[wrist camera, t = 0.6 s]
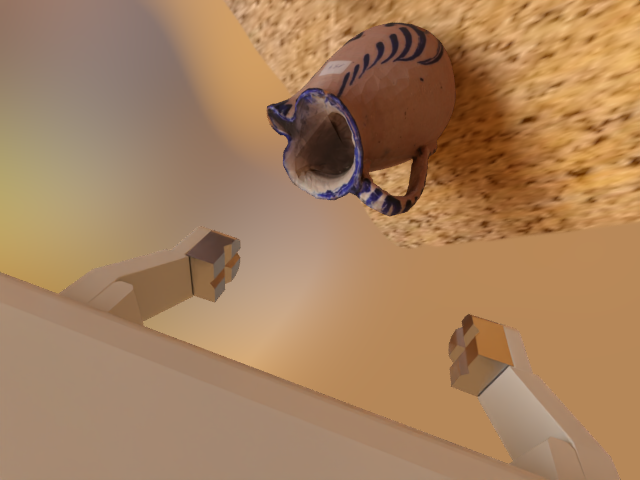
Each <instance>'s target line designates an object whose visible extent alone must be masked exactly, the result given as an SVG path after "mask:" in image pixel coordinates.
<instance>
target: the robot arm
mask: <svg viewBox="0 0 640 480" xmlns="http://www.w3.org/2000/svg"><path fill="white" fill-rule="evenodd" d="M239 249H240V240H239V239H237V238H235V237H232V236H229V235H226V234H223V233H220V232H217V231H215V230H211V229H208V228H205V227H202V226H200V227H197V228H196V229H195V230H194V231H192V232H191V233H190V234H189V235H188V236H187V237H186V238H184V239H183V240H182V241H181V242H180V243H179V244H177V245H176V246H175V247H174V248H173V249H172V250H168V249H166V250H162V251H158V252H154V253H151V254H147V255H143V256H139V257H136V258H133V259H129V260H125V261H121V262H118V263H114V264H110V265H107V266H103V267H99V268H95V269H92V270H91V271H90V272H88V273H87V274H85V275H84V276H83V277H81V278H80V279H78V280H77V281H75V282H74V283H73V284H71V285H70V286H69V287H67V288H66V289H64V290H63V291H62V292H60V293H59V294H57V293H54V292H52V291H49V290H46V289H44V288H41V287H39V286H36V285H33V284H31V283H28V282H25V281H23V280H20V279H17V278H15V277H12V276H9V275H7V274H4V273H1V272H0V480H621V479H620V477H619V475H618V472H617V470H616V468H615V465H614V463H613V461H612V458H611V457H610V455H609V454H608V453H607V452H606V451H605V450H604V449H603V448H602V447H601V445H600V444H599V443H598V442H597V441H596V440H595V439H594V438H593V436H592V435H591V434H590V433H589V432H588V431H587V430H586V429H585V428H584V426H583V425H582V424H581V423H580V422H579V421H578V420H577V418H576V417H575V416H574V415H573V414H572V413H571V412H570V411H569V410H568V408H567V407H566V406H565V405H564V404H563V403H562V402H561V401H560V399H559V398H558V397H557V396H556V395H555V394H554V393H553V392H552V391H551V389H550V388H549V387H548V386H547V385H546V384H545V383H544V382H543V380H542V379H541V378H540V377H539V376H538V375H535V374H533V372H532V369H531V366H530V363H529V360H528V357H527V354H526V350H525V347H524V344H523V341H522V338H521V335H520V332H519V331H518V330H517V329H516V328H512V327H509V326H506V325H502V324H498V323H495V322H492V321H489V320H486V319H483V318H480V317H477V316H473V315H470V314H468V315H467V316H465V317H464V319H463V320H462V328H459V329H456V330H455V332H454V333H453V335H452V336H451V339H450V342H449V357H450V359H451V360H452V362H453V365H452V366H451V367H450V377H451V387H454V388H456V389H459V390H462V391H464V392H467V393H469V394H472V395H475V396H477V397H478V400H479V401H480V403H481V405H482V407H483V409H484V411H485V412H486V414H487V416H488V418H489V419H490V421H491V423H492V425H493V426H494V428H495V430H496V432H497V433H498V435H499V437H500V439H501V440H502V442H503V444H504V446H505V448H506V449H507V451H508V453H509V455H510V456H511V458H512V460H513V462H511V463H510V464H508V463H505V462H502V461H500V460H497V459H494V458H492V457H489V456H486V455H484V454H481V453H478V452H476V451H473V450H470V449H468V448H465V447H462V446H459V445H457V444H454V443H452V442H449V441H447V440H444V439H441V438H439V437H436V436H433V435H431V434H428V433H425V432H422V431H420V430H417V429H415V428H412V427H409V426H407V425H404V424H401V423H399V422H396V421H393V420H391V419H388V418H386V417H383V416H380V415H377V414H375V413H372V412H370V411H367V410H364V409H362V408H359V407H356V406H353V405H351V404H348V403H346V402H343V401H340V400H338V399H335V398H332V397H330V396H327V395H324V394H322V393H319V392H316V391H314V390H311V389H308V388H306V387H303V386H301V385H298V384H295V383H293V382H290V381H287V380H285V379H282V378H279V377H277V376H274V375H272V374H269V373H266V372H264V371H261V370H258V369H256V368H253V367H250V366H248V365H245V364H242V363H240V362H237V361H235V360H232V359H229V358H227V357H224V356H221V355H219V354H216V353H213V352H211V351H208V350H205V349H203V348H200V347H197V346H195V345H192V344H190V343H187V342H184V341H182V340H179V339H176V338H174V337H171V336H168V335H165V334H163V333H160V332H158V331H155V330H152V329H150V328H147V327H145V326H143V321H145V320H147V319H149V318H151V317H153V316H155V315H157V314H159V313H161V312H163V311H165V310H167V309H169V308H171V307H173V306H175V305H177V304H179V303H181V302H183V301H185V300H187V299H189V298H191V297H193V295H194V296H197V297H200V298H203V299H206V300H209V301H212V302H216V301H217V299H218V298H219V297H220V295H221V294H222V293H223V292H224V290H225V284H226V283H228V282H231V281H232V280H233V278H234V277H235V276H236V273H237V271H238V269H239V265H240V257H239V255H238V253H237V252H238V250H239Z"/></svg>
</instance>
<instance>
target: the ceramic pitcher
mask: <svg viewBox="0 0 640 480" xmlns="http://www.w3.org/2000/svg"><path fill="white" fill-rule="evenodd" d="M455 97H456V93H455V80H454V74H453V69H452V65H451V61H450V59H449V56H448V54H447V52H446V50H445V48H444V47H443V45H442V43H441V42H440V41H439V40H438V39H437V38H436V37H435V36H434V35H433V34H431V33H430V32H429V31H427V30H425V29H423V28H421V27H418V26H415V25H412V24H405V23H388V24H383V25H379V26H375V27H372V28H370V29H367V30H365V31H363V32H361V33H360V34H358V35H356V36H355V37H353V38H352V39H351V40H349V41H348V42H347V43H346V44H345V45H344V46H343V47H342V48H340V49H339V50H338V51H337V52H336V53H335V54H334V55H333V56H332V57H331V58H330V59H329V60H328V61H327V62H326V63H325V64H324V65H323V66H322V68H321V69H320V70H319V71H318V72H317V73H316V74H315V75H314V76H313V77H312V78H311V79H310V81H309V82H308V83H307V84H306V85H305V86H304V87H303V88H302V89H301V90H300V91H299V92H297V93H296V94H295V95H294V96H292V97H291V98H290V99H288V100H285V101H282V102H280V103H277V104H271V105H269V106H267V117H268V119H269V123H270V125H271V127H273V129H274V130H275V131H276V132H277V133H278V134H280V135H284V136H286V138H287V139H288V145H287V147H286V148H285V150H284V154H283V166H284V168H285V170H286V172H287V174H288V176H289V178H290V179H291V181H292V182H293V183H294V184H295V185H296V186H298V187H299V188H300V189H302V190H305V191H306V192H307V193H309V194H311V195H312V196H314V197H315V198H317V199H327V200H336V199H338V198H341V197H343V196H345V195H347V194H348V193H349V192H350V193H352V194H354V195H356V196H357V197H358V198H359V199H360V200H361V201H362V202H363V203H364V204H366V205H367V206H369V207H370V208H372V209H374V210H376V211H378V212H380V213H382V214H384V215H387V216H393V215H397V214H401V213H405V212H408V210H409V209H410V208H411V207H412V206H413V205H414V204H415V203H416V202H417V200H418V199H419V198H420V196H421V194H422V192H423V189H424V187H425V182H426V176H427V167H428V159H429V156H431V155H432V154H433V153H435V151H436V149H437V139H438V138H439V137H440V135H441V134H442V132H443V131H444V129H445V127H446V126H447V124H448V122H449V120H450V118H451V115H452V112H453V109H454V104H455ZM410 159H413V163H412V166H411V174H410V180H409V186H408V190H407V193H406V195H405V196H392V195H390V194H389V193H388V192H387V191H384V190H382V189H381V188H380V187H379V186H377V185H376V184H374V183H373V179H372V178H371V177H370V175H369V172H372V171H376V170H381V169H385V168H389V167H392V166H396V165H399V164H401V163H404V162H406V161H408V160H410Z"/></svg>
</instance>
